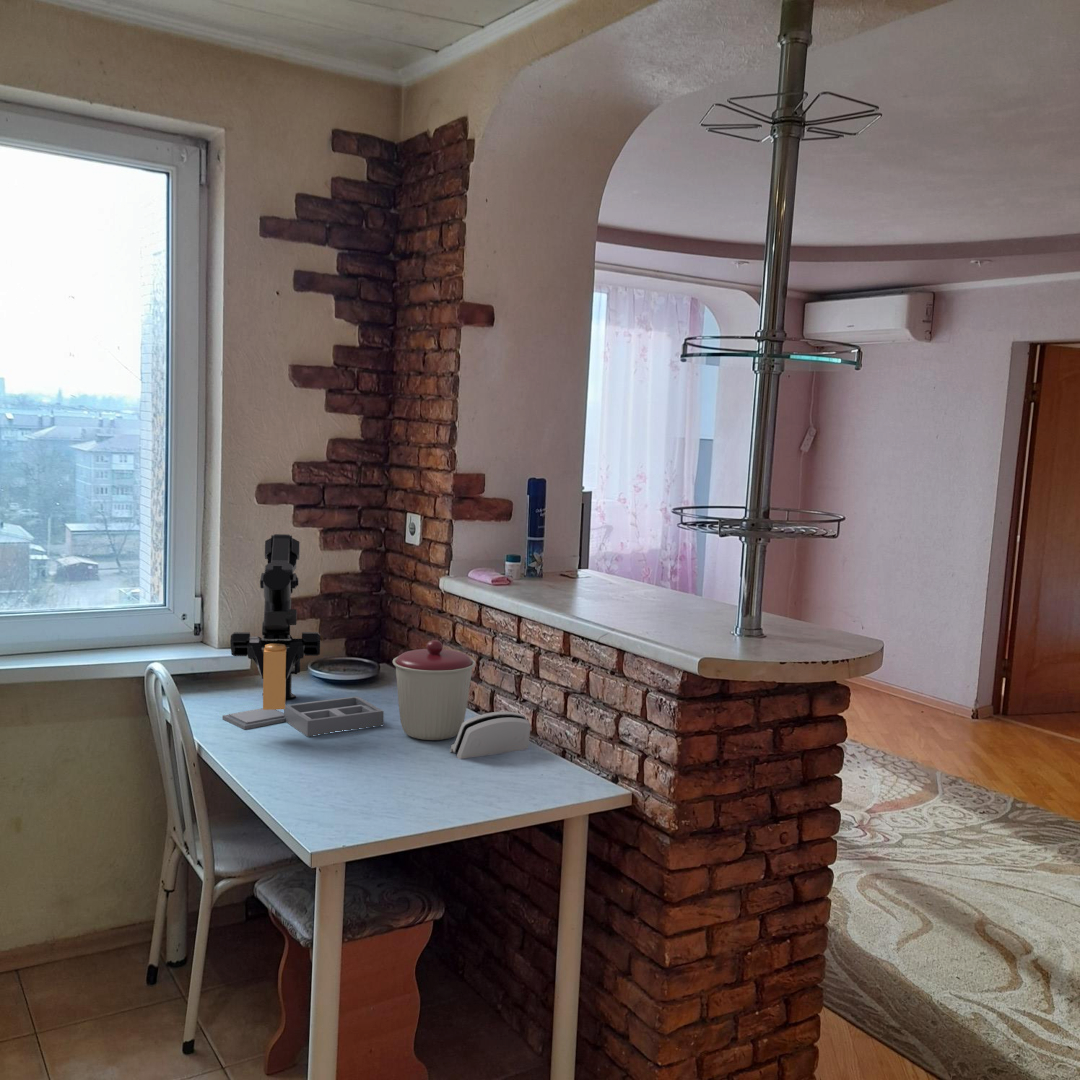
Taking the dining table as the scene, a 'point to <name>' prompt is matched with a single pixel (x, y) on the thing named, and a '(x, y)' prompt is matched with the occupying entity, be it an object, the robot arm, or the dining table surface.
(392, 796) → the dining table surface
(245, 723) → the lid
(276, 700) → the post
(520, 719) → the napkin holder
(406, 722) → the canister
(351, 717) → the tray
